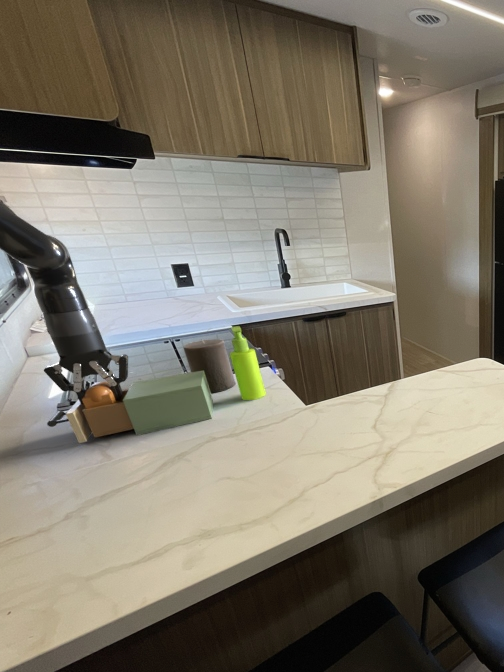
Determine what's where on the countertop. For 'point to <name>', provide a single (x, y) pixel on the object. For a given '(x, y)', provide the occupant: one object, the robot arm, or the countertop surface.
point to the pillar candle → (211, 363)
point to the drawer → (95, 419)
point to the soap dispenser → (246, 368)
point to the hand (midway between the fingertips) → (103, 402)
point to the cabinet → (168, 402)
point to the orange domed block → (98, 395)
